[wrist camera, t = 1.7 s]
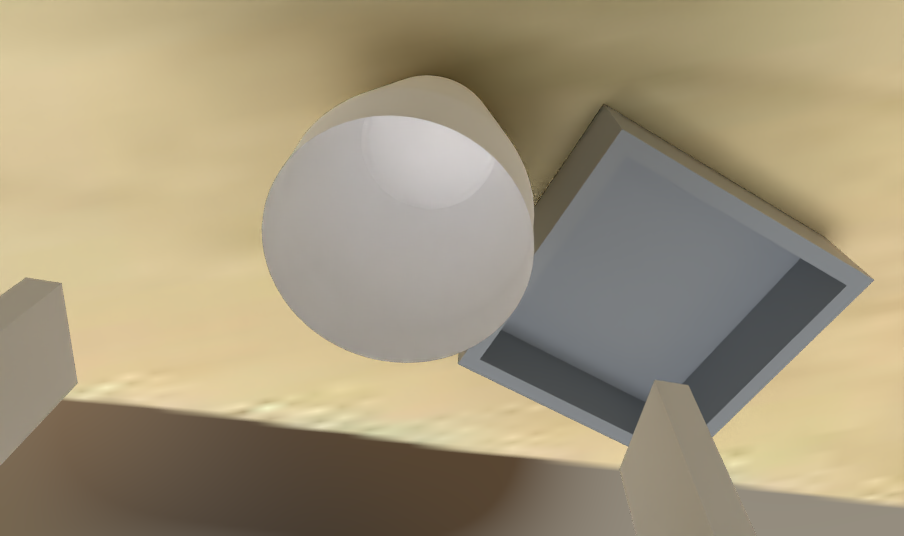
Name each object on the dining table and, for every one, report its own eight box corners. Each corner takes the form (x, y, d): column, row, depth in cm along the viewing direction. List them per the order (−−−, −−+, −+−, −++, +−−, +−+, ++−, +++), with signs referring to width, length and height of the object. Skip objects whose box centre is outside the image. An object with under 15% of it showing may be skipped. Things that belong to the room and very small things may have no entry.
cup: (532, 55, 28) (560, 122, 17) (510, 235, 32) (521, 377, 22) (336, 39, 28) (243, 96, 18) (339, 221, 32) (266, 355, 22)
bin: (603, 103, 29) (622, 128, 25) (825, 237, 31) (874, 280, 27) (461, 315, 35) (457, 363, 31) (657, 414, 37) (677, 470, 33)
